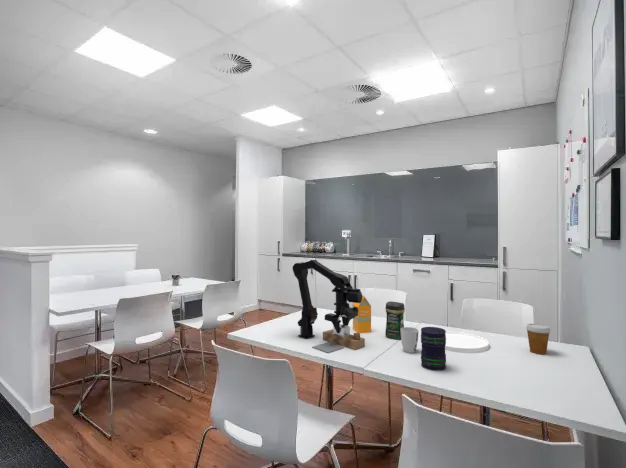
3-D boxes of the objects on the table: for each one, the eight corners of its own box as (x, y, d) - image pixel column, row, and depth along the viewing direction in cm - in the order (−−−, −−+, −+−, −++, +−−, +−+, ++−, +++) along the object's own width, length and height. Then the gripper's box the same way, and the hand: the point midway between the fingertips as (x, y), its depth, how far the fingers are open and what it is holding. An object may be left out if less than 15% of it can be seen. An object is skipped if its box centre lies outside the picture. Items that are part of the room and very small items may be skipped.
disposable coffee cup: (547, 350, 163) (546, 324, 163) (553, 356, 154) (553, 329, 154) (523, 347, 167) (523, 322, 167) (528, 354, 158) (528, 327, 158)
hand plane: (322, 339, 181) (322, 327, 181) (332, 336, 186) (332, 324, 186) (355, 350, 165) (355, 336, 165) (364, 346, 170) (364, 333, 170)
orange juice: (358, 333, 192) (357, 296, 192) (352, 329, 201) (352, 294, 201) (371, 332, 194) (371, 296, 194) (365, 328, 203) (365, 293, 203)
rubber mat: (311, 347, 169) (311, 346, 169) (328, 342, 176) (328, 341, 176) (328, 353, 161) (328, 352, 161) (344, 347, 168) (344, 347, 168)
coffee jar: (383, 337, 185) (382, 302, 185) (390, 333, 191) (389, 299, 191) (400, 340, 179) (400, 304, 179) (406, 337, 185) (406, 301, 185)
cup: (419, 354, 159) (419, 332, 159) (400, 353, 160) (400, 331, 160) (417, 348, 167) (417, 327, 167) (400, 347, 168) (400, 326, 168)
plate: (425, 334, 191) (424, 330, 191) (480, 337, 185) (480, 332, 185) (431, 351, 163) (431, 346, 163) (496, 355, 158) (496, 350, 158)
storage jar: (415, 364, 147) (415, 328, 147) (432, 360, 152) (432, 325, 152) (434, 372, 138) (434, 334, 138) (451, 367, 143) (451, 331, 143)
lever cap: (333, 333, 177) (333, 324, 177) (339, 331, 180) (339, 322, 180) (343, 336, 172) (343, 326, 172) (349, 334, 175) (349, 325, 175)
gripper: (340, 306, 164) (340, 339, 164) (365, 300, 177) (366, 331, 177) (323, 302, 172) (323, 334, 172) (349, 297, 185) (349, 327, 185)
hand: (341, 332), depth 176 cm, fingers open, 5 cm apart
